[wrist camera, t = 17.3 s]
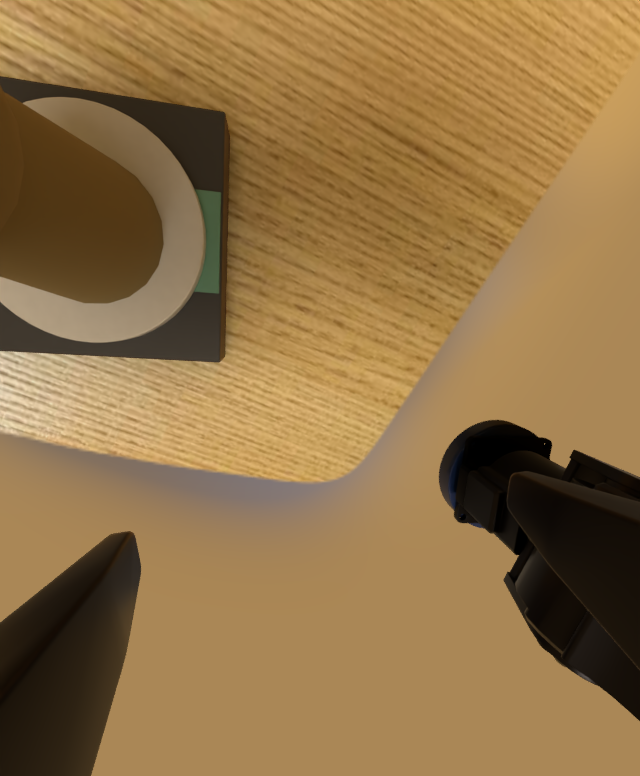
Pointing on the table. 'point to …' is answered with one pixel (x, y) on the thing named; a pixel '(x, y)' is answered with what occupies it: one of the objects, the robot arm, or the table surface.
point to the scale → (179, 224)
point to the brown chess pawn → (71, 213)
